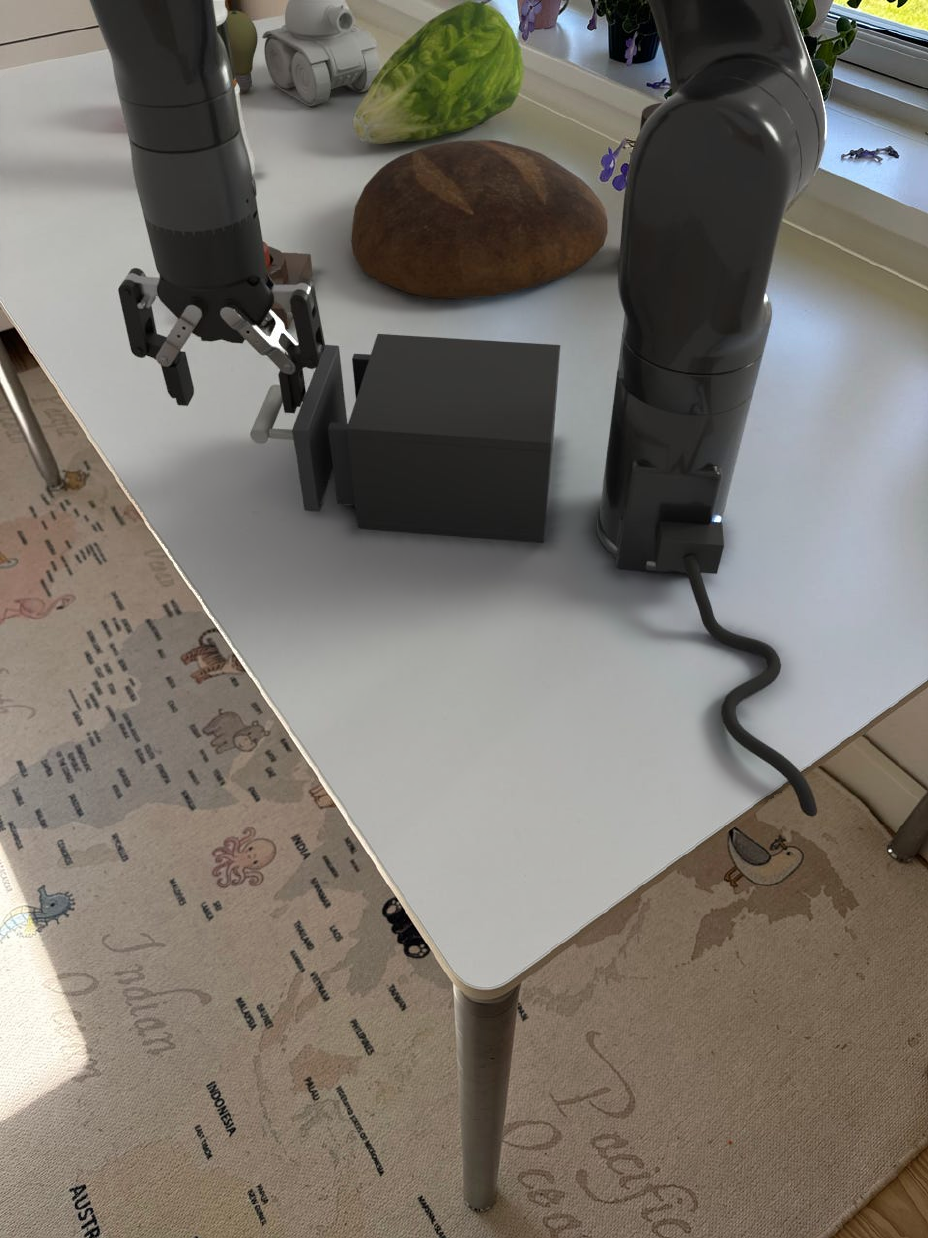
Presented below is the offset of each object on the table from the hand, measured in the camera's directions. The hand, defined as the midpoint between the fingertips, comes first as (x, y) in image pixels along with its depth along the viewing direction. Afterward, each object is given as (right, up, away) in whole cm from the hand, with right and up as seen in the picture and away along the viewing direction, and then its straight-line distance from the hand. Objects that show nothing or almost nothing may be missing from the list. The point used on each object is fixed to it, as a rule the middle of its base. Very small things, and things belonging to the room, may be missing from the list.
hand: (239, 403), depth 79 cm
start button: (-3, +18, +21) cm, 28 cm away
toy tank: (-2, +57, +62) cm, 84 cm away
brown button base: (-3, +16, +24) cm, 29 cm away
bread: (+19, +24, +31) cm, 44 cm away
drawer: (+10, -5, +3) cm, 12 cm away
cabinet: (+17, -6, +3) cm, 19 cm away
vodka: (-12, +36, +43) cm, 58 cm away
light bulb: (-13, +56, +61) cm, 84 cm away
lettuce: (+14, +46, +52) cm, 71 cm away
